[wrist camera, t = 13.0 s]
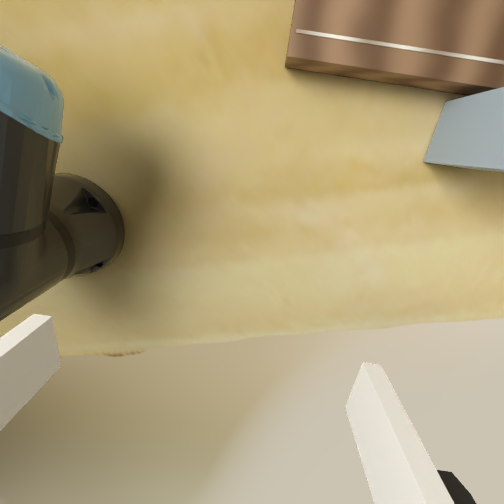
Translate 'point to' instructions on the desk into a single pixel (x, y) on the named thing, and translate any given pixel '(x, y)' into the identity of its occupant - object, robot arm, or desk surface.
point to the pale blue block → (470, 133)
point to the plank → (402, 42)
